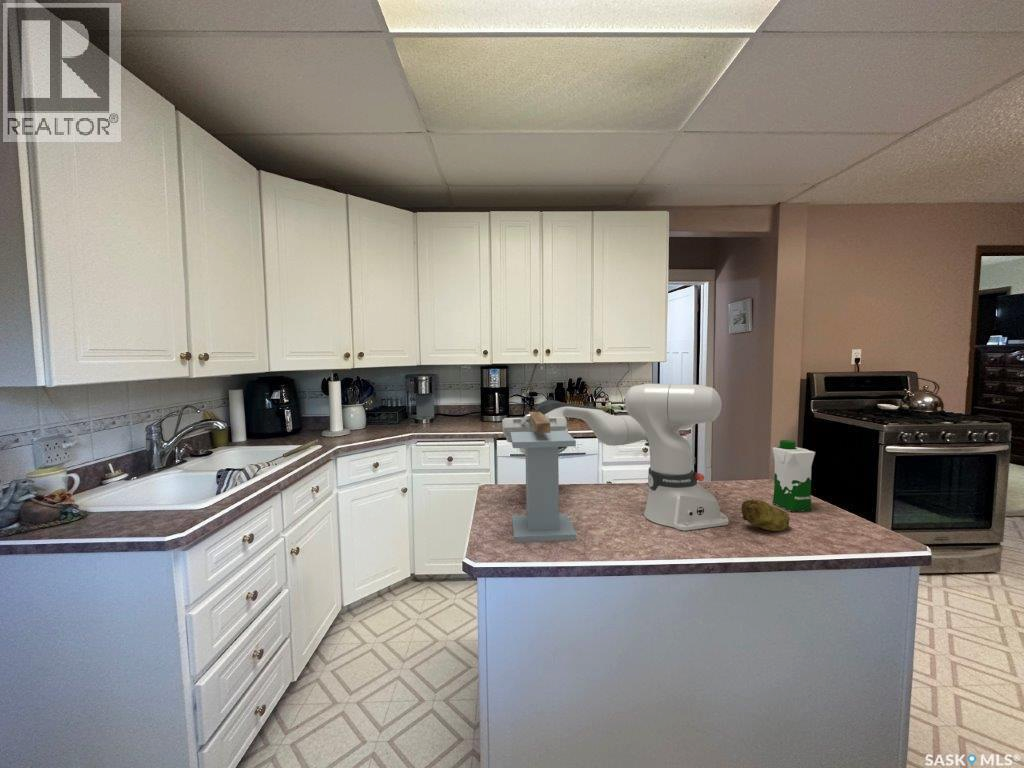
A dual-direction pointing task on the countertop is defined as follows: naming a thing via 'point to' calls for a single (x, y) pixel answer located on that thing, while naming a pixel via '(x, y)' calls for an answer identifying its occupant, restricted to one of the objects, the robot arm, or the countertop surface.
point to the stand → (542, 488)
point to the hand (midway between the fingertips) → (536, 416)
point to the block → (539, 422)
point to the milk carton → (792, 476)
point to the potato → (764, 515)
